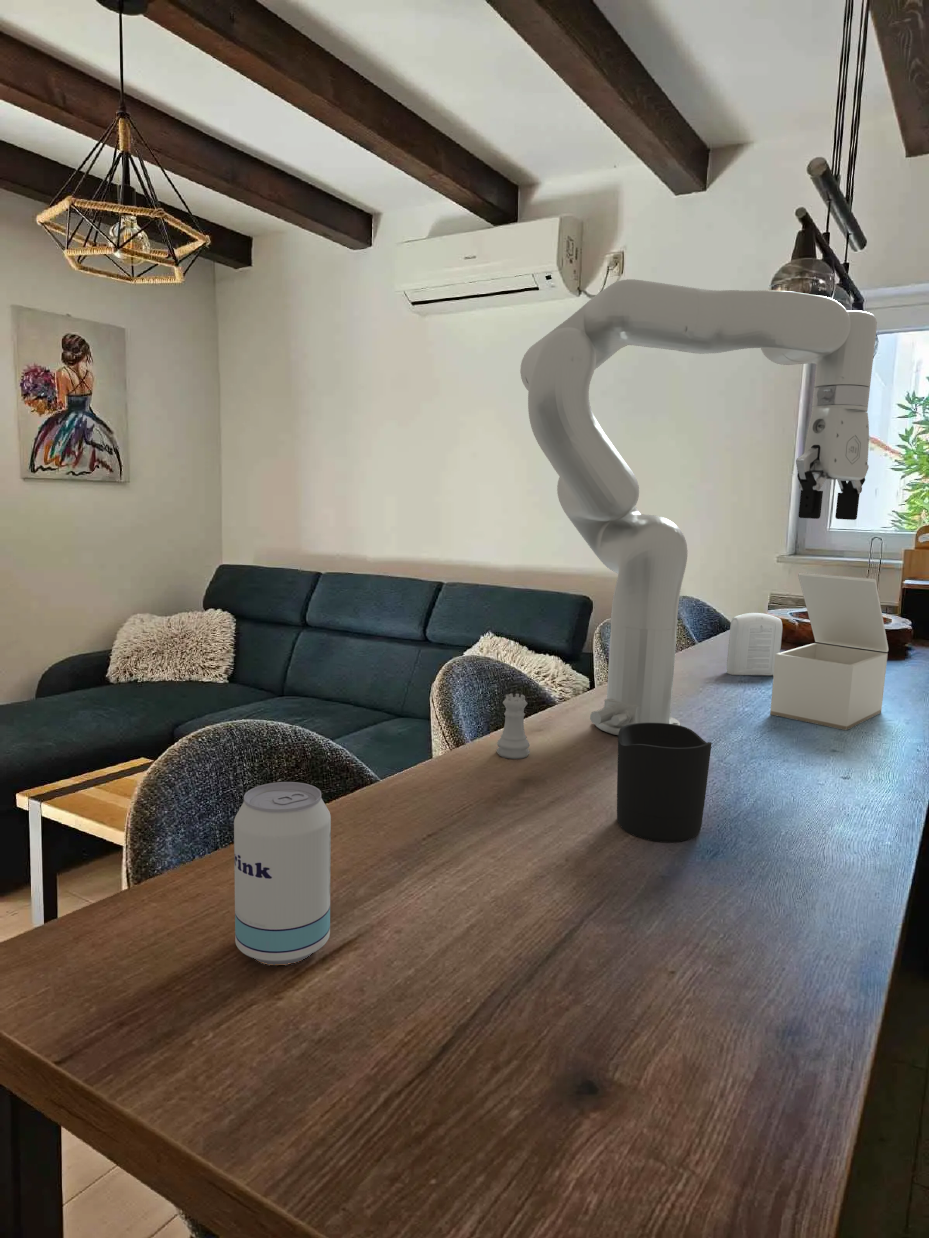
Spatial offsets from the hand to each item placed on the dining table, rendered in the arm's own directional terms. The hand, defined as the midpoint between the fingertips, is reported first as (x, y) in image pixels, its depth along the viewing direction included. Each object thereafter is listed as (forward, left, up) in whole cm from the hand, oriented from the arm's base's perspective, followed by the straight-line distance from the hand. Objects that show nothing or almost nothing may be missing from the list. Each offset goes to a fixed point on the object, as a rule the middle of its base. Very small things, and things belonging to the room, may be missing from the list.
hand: (827, 518), depth 125 cm
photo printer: (+30, +23, -32) cm, 49 cm away
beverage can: (-95, +2, -32) cm, 101 cm away
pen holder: (-53, -5, -32) cm, 62 cm away
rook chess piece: (-46, +21, -32) cm, 60 cm away
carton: (+10, +1, -32) cm, 33 cm away
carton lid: (+13, +1, -16) cm, 20 cm away
